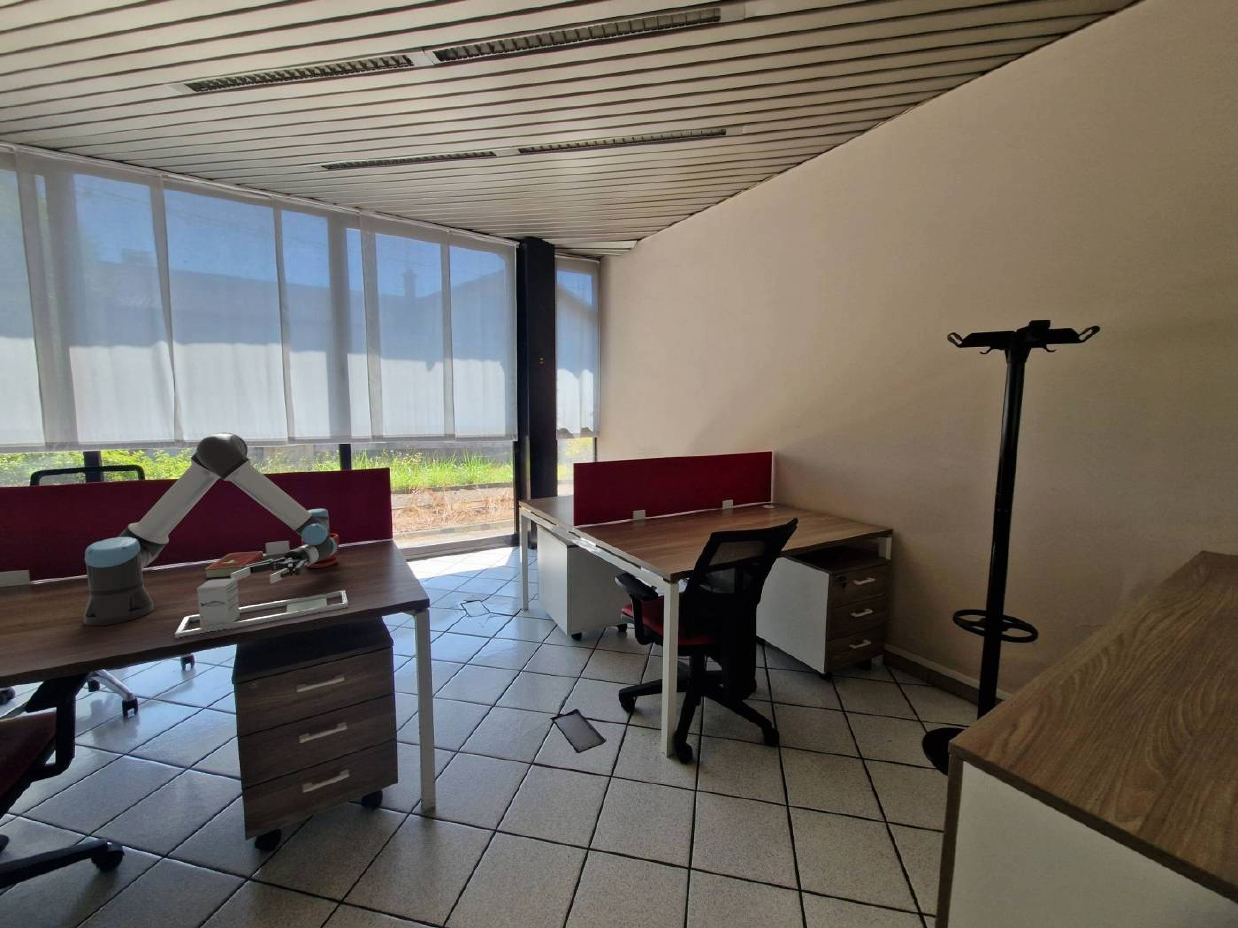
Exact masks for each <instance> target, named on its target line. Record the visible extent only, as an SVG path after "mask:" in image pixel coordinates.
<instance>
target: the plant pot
mask: <svg viewBox="0 0 1238 928" xmlns="http://www.w3.org/2000/svg"><path fill="white" fill-rule="evenodd" d="M329 534H330V537H331V538H333V539H334V540H335V542H336V543H337V550H336V552H335V553H334V554H332V555H331V556H329V557H328V558H325V559H322V560H320V561H318V562H315V563H313V564H311V565H309V567H308V568H315V569H317V568H325V567H330V566H332V565H334V564H336V563H337V562H338V559H339V557H337V554H338V551H339V545H340V540H339V539H340V537H339V535H338V534H337V533H329ZM300 540H301V546H304V545H307V543H305V542H304V541H303V539H302V538H301V539H300Z"/></svg>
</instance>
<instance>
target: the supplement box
mask: <svg viewBox="0 0 1238 928" xmlns="http://www.w3.org/2000/svg"><path fill="white" fill-rule="evenodd" d="M196 588H197V589H196V590H197V601H198V612H199V613H198V614H199V617H200V620H199V628H203V627H209V626H214V625H220V624H226V623H231V622H236V621H238V619H239V618H240V613H239V608H240V605H239V604H240V602H239V588H238V580H237V578H234V579H231V578H220V579H209V580H207V581H206V582H204V583H202V584H201V585H199V586H198V587H196Z"/></svg>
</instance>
